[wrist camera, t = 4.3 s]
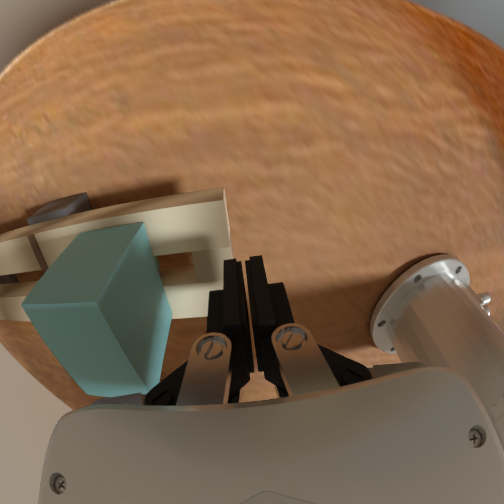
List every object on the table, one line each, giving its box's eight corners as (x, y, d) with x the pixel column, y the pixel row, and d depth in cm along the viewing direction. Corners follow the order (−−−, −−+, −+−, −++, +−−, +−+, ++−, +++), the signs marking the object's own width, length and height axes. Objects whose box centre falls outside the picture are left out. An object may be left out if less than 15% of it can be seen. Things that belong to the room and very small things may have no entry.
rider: (152, 208, 14) (96, 301, 8) (177, 295, 17) (156, 400, 11) (93, 219, 14) (20, 304, 8) (123, 299, 17) (86, 394, 11)
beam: (224, 166, 17) (221, 190, 12) (238, 272, 21) (241, 320, 16) (-15, 224, 16) (-46, 251, 12) (15, 292, 21) (-8, 323, 16)
